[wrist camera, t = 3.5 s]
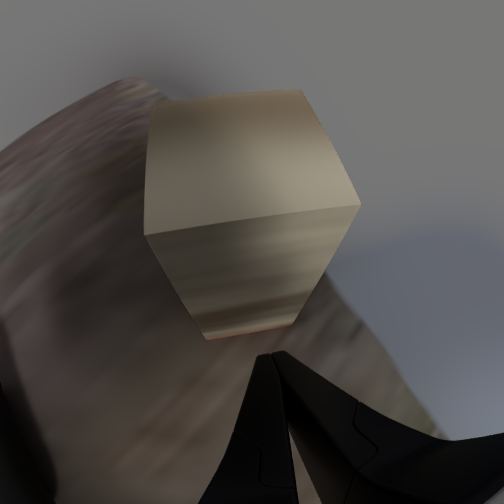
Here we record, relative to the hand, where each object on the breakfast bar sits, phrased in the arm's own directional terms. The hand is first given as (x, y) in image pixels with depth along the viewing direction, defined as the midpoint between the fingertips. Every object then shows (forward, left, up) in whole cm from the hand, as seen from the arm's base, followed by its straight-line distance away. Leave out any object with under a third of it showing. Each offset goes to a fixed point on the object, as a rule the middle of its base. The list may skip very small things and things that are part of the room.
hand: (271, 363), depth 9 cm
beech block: (+5, 0, -8) cm, 9 cm away
